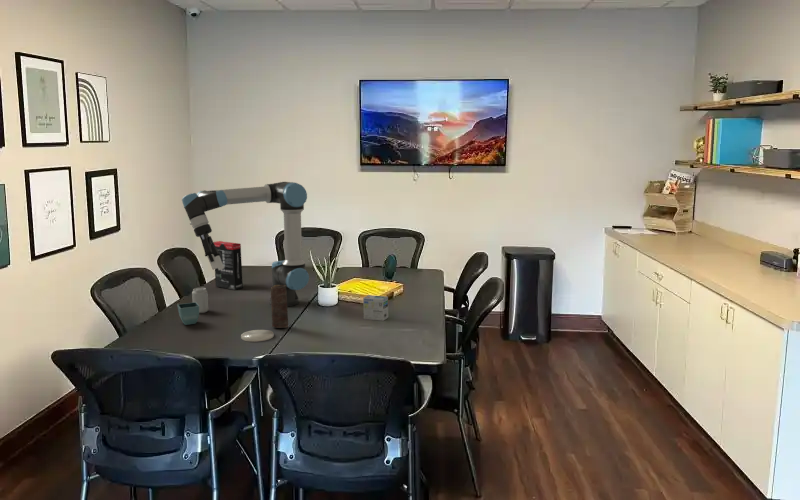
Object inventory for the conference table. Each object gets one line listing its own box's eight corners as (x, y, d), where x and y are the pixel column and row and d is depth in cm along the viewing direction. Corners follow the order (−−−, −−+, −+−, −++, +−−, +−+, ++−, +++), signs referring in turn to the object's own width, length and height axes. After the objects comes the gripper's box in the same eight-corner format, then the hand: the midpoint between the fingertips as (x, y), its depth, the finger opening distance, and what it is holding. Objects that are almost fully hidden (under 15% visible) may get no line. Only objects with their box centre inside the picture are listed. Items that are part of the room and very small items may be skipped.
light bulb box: (388, 317, 318) (388, 296, 316) (383, 321, 312) (383, 299, 310) (368, 315, 322) (368, 294, 320) (363, 319, 315) (362, 297, 314)
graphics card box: (243, 288, 384) (241, 242, 380) (235, 290, 378) (232, 244, 374) (223, 285, 393) (221, 240, 389) (214, 287, 387) (212, 241, 383)
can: (204, 313, 327) (202, 290, 325) (190, 313, 329) (188, 289, 327) (211, 310, 334) (210, 287, 332) (197, 309, 336) (196, 286, 334)
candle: (280, 330, 297) (278, 287, 293) (268, 328, 301) (266, 286, 297) (291, 326, 303) (290, 284, 300) (279, 324, 307) (278, 283, 304)
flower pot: (181, 327, 304) (180, 308, 303) (178, 322, 312) (176, 304, 310) (200, 324, 308) (199, 306, 307) (197, 320, 316) (196, 302, 314)
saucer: (266, 330, 297) (266, 328, 297) (278, 338, 286) (278, 335, 285) (236, 335, 290) (236, 333, 290) (247, 343, 278) (247, 340, 278)
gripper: (199, 231, 313) (216, 272, 313) (186, 227, 288) (205, 271, 288) (214, 225, 314) (231, 266, 314) (203, 220, 289) (221, 265, 289)
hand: (218, 269), depth 301 cm, fingers open, 13 cm apart
